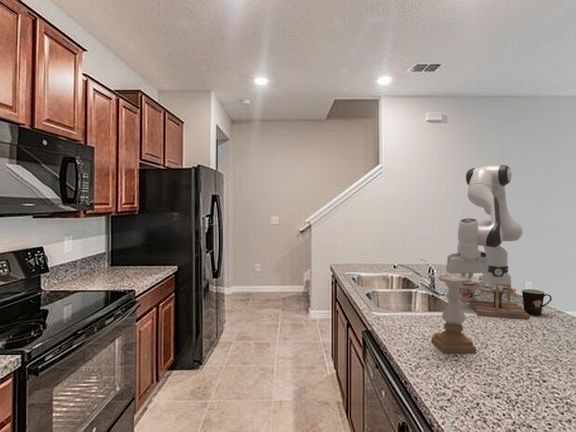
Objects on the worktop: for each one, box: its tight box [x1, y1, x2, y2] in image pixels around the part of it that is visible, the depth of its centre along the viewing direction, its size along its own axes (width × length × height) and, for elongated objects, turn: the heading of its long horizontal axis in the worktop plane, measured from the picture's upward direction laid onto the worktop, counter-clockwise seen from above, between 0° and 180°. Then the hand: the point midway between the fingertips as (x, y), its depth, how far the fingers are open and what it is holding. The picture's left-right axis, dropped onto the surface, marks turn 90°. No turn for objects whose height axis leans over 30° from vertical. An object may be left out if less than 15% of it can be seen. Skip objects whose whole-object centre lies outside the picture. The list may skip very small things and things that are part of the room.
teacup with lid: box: [460, 279, 483, 302], centre depth 199 cm, size 12×9×12 cm
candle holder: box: [431, 274, 477, 354], centre depth 134 cm, size 11×11×24 cm
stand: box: [469, 284, 530, 320], centre depth 178 cm, size 20×20×14 cm
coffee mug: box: [521, 288, 552, 316], centre depth 174 cm, size 12×9×10 cm
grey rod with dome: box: [474, 281, 517, 293], centre depth 180 cm, size 20×6×3 cm, turn 29°
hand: (466, 282), depth 185 cm, fingers closed
